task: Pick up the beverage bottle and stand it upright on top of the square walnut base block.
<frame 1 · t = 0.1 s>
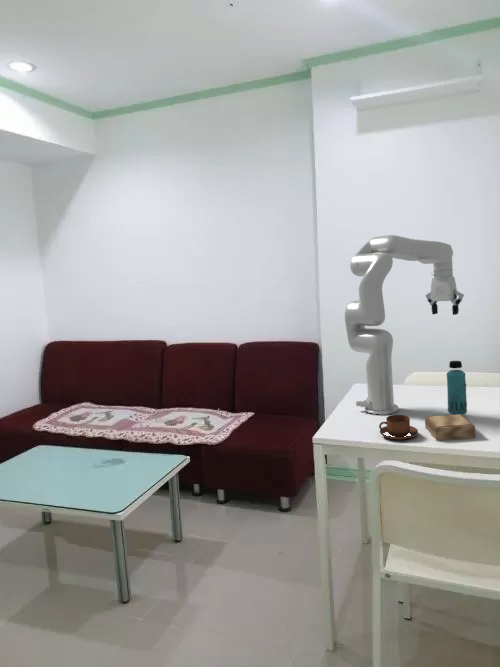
hand: (445, 314, 219), 31 cm above the table, tool pointing down, fingers open, 9 cm apart
walnut base: (449, 433, 167), on the table
cup and saucer: (398, 436, 169), on the table
beverage bottle: (457, 416, 182), on the table
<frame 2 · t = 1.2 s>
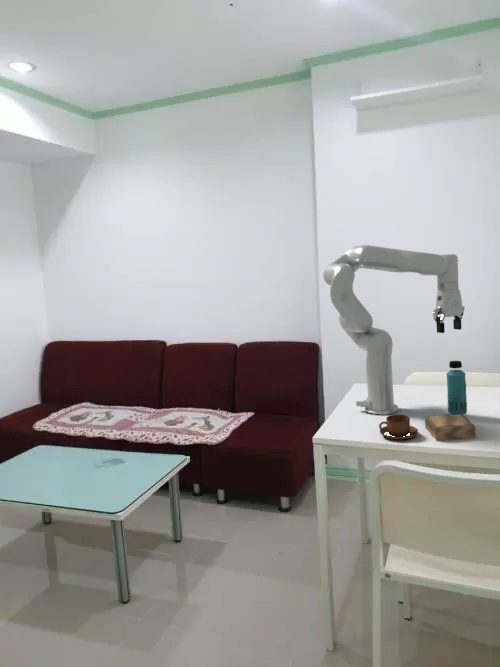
hand: (449, 330, 199), 27 cm above the table, tool pointing down, fingers open, 9 cm apart
nothing on the table moved.
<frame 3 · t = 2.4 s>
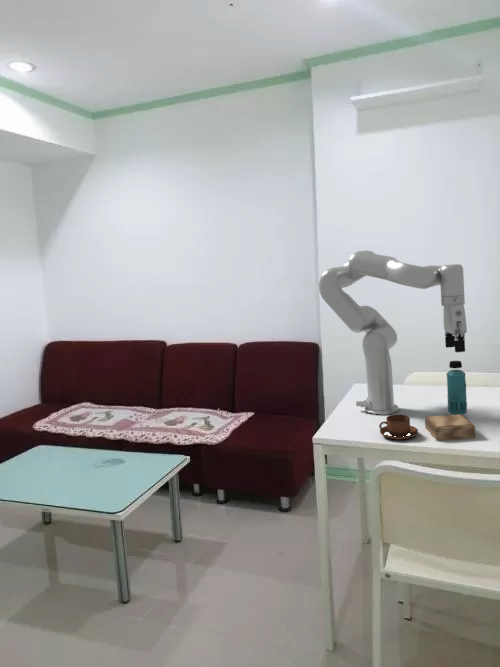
hand: (455, 349, 179), 24 cm above the table, tool pointing down, fingers open, 9 cm apart
nothing on the table moved.
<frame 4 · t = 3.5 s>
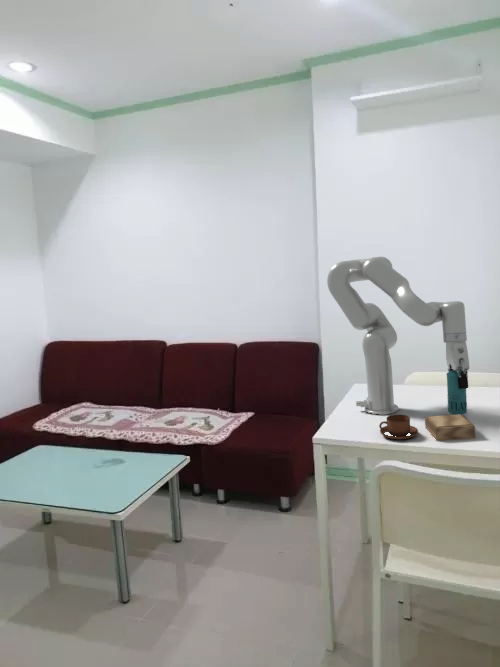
hand: (458, 385, 180), 11 cm above the table, tool pointing down, fingers open, 9 cm apart
nothing on the table moved.
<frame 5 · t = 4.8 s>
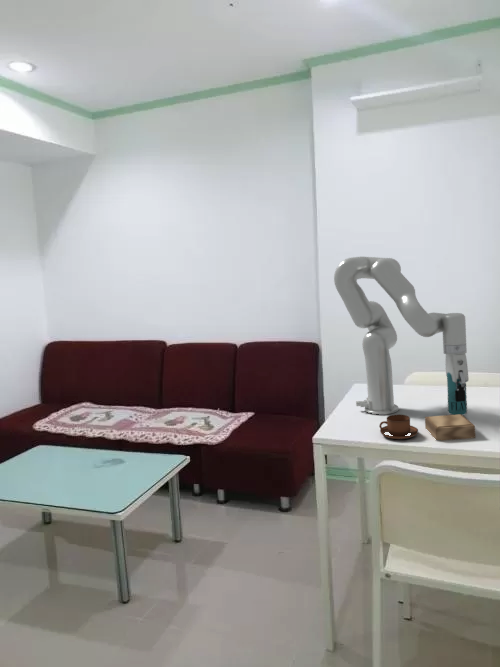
hand: (456, 398, 181), 7 cm above the table, tool pointing down, fingers closed on beverage bottle, 6 cm apart
beverage bottle: (457, 416, 182), on the table, touching gripper
everything else where it was.
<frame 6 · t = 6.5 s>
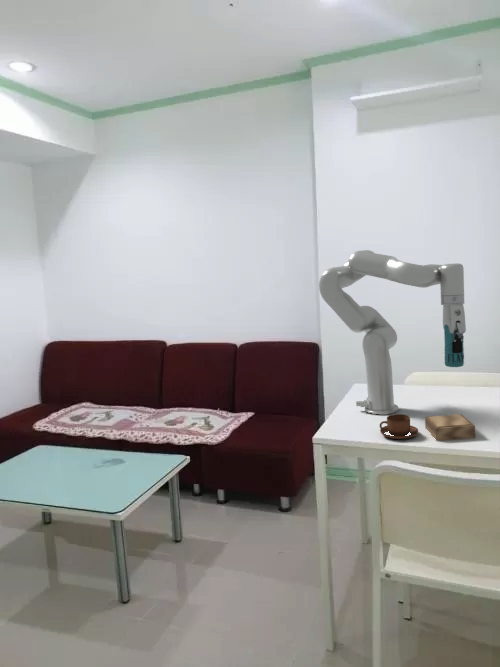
hand: (453, 350, 179), 24 cm above the table, tool pointing down, fingers closed on beverage bottle, 6 cm apart
beverage bottle: (454, 369, 180), point 17 cm above the table, touching gripper
everything else where it was.
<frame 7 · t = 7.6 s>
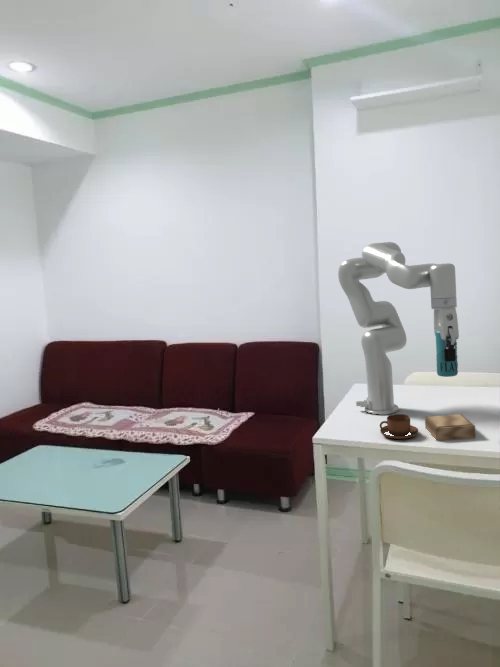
hand: (446, 358, 164), 25 cm above the table, tool pointing down, fingers closed on beverage bottle, 6 cm apart
beverage bottle: (447, 379, 165), point 18 cm above the table, touching gripper
everything else where it was.
when the fingers open (11 cm above the table, at t = 11.0 s): beverage bottle stays where it is, resting on walnut base.
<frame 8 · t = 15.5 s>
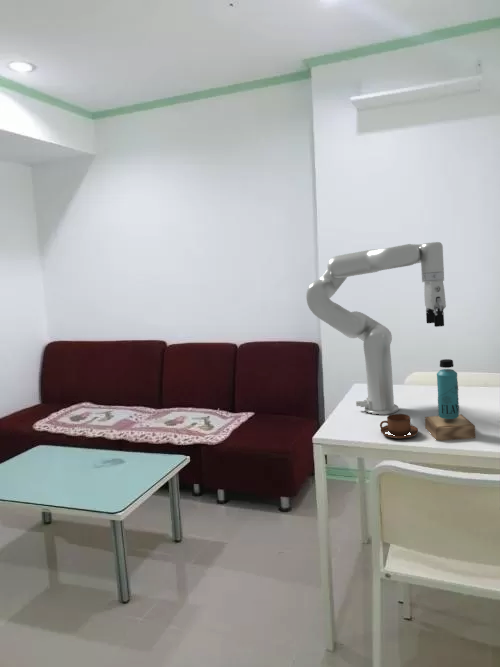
hand: (435, 324, 186), 32 cm above the table, tool pointing down, fingers open, 9 cm apart
beverage bottle: (449, 420, 166), point 4 cm above the table, touching walnut base
everything else where it was.
at the end: beverage bottle inside the target area on the walnut base (0.1 cm from its centre), point 4.1 cm above the walnut base's base; beverage bottle tilted 0°; the gripper is holding nothing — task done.
